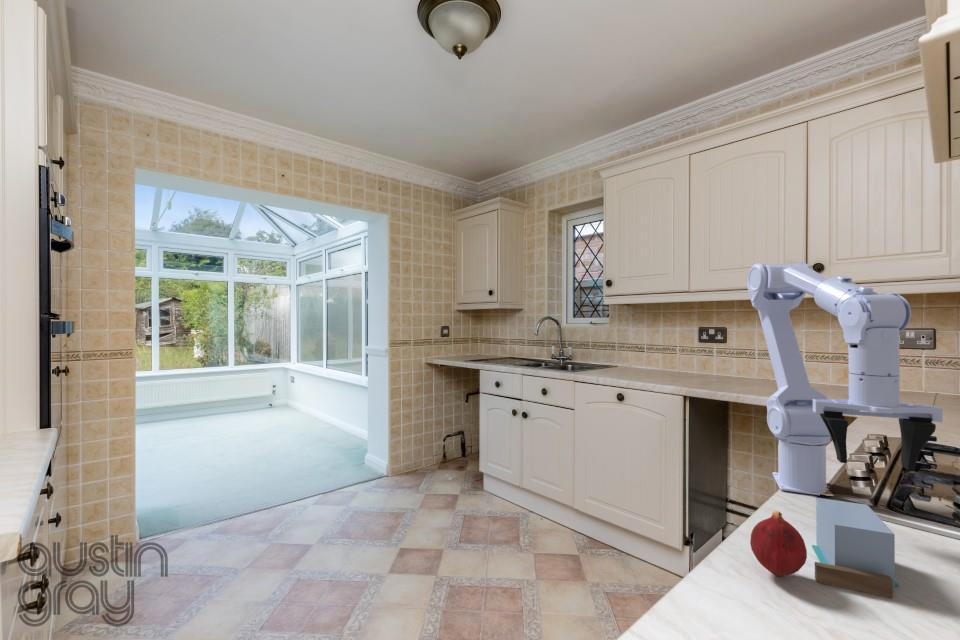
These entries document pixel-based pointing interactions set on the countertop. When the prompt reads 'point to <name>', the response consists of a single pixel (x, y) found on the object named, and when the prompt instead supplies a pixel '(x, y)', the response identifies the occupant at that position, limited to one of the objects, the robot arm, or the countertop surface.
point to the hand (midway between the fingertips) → (874, 464)
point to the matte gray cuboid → (854, 537)
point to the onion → (778, 546)
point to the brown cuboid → (854, 579)
